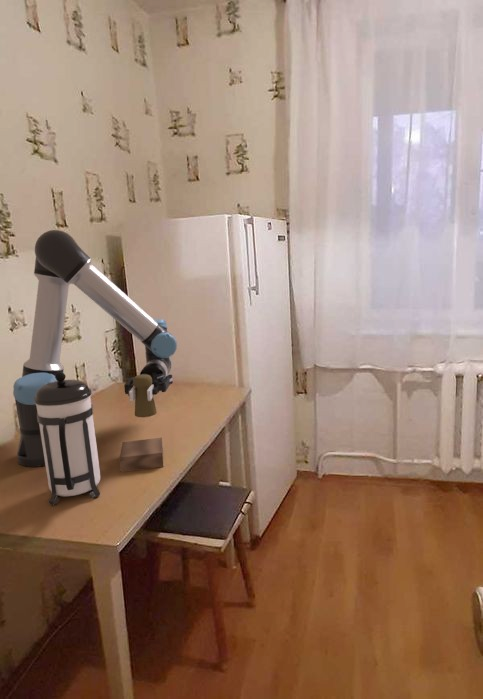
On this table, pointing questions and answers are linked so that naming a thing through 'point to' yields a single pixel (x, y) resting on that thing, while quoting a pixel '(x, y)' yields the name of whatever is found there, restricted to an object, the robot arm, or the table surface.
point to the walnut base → (141, 454)
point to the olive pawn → (143, 396)
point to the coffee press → (68, 437)
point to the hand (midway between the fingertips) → (139, 396)
